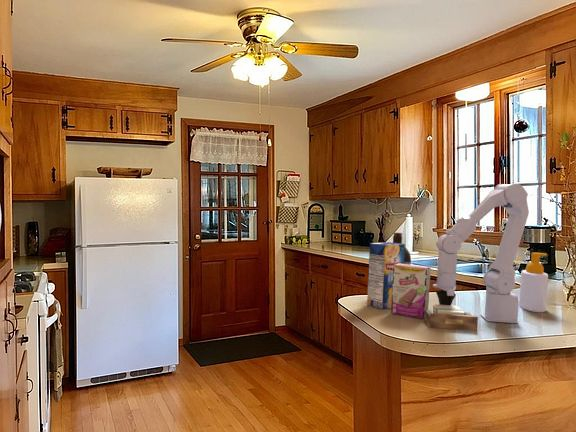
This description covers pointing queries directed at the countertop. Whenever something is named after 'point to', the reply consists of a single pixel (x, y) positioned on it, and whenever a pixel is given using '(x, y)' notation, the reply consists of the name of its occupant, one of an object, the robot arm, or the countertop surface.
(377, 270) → the beverage box
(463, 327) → the display stand
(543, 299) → the soap bottle
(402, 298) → the candy bar box
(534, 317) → the countertop surface
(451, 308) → the carton
